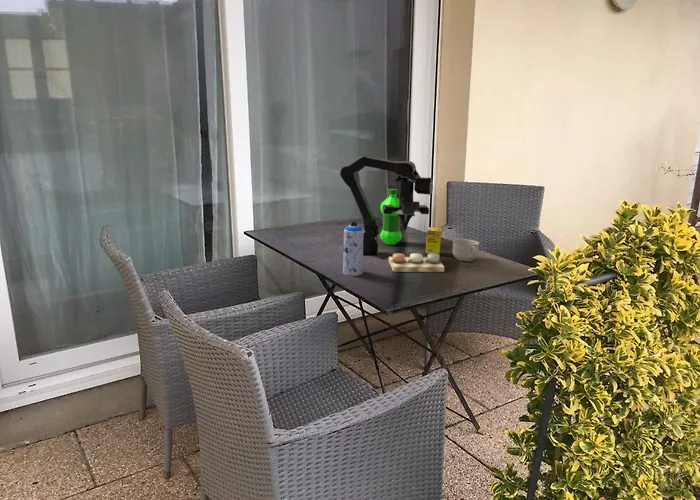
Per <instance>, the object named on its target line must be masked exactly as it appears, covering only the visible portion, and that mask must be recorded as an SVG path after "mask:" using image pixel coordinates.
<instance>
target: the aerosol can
mask: <svg viewBox="0 0 700 500" xmlns="http://www.w3.org/2000/svg"><path fill="white" fill-rule="evenodd" d="M364 232H365V230H364V228H363V227H361V226H360V225H359V224H358V222H357V221H355V220H351V222H350V224H349V225H347V226H346V227H345V228H344V230H343V256H342V257H343V258H342V259H343V261H342V274H343V275H346V276H352V277H353V276H356V277H357V276H360V275H363V273H364V271H363V267H364V265H363V262H364V255H363V238H364Z"/></svg>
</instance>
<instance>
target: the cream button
mask: <svg viewBox="0 0 700 500" xmlns="http://www.w3.org/2000/svg"><path fill="white" fill-rule="evenodd" d="M409 257H410V261H411V262H422V257H423V254H421V253H418V252H417V253H416V252H414V253H410V255H409Z"/></svg>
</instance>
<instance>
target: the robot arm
mask: <svg viewBox="0 0 700 500" xmlns="http://www.w3.org/2000/svg"><path fill="white" fill-rule="evenodd" d="M365 167H367V168H368V167H370V168H374V169H379V170H384V171H388V172H392V173H394V174H396V175H398V177H397V178H396V179H394V181H395V182H399V190H398V194H399V197H398V199H399V207H393V206H392V205H383V207H382V211H383V213H384V214H392V213H393V212H396V214H397V216H399V217H400V219H401V220H400V224H401V226H402V229H403V231H406V230H407V227H408V225H409V223H410V222H411V221H410V220H411V219H412V217H415V216H416V213H417V212H418V213H420V214H421V215H430V208H429V206H427V205H426V204H420V201H414V192H416V194H418V195H432V193H433V188H434V185H433V181H432V180H433V177H421V176H420V174H419V172H418V171H417V166H416V164H415V162H414V161H410V160H407V161H406V160H405V161H402V160H401V161H399V160H398V161H397V160H396V161H394V160H388V159H382V158H378V157H373V156H368V155H362V156H360V157H359V158H358V159H357V160H355V161H354V162H353V163H351V164H349V165H346V166H344V167H341V169H340V171H339V176H340V178H341V179H342V181H343V182H344V184H345V185H346V186H348V188H349V189H350V191H351V194H352V196H353V199H354V200H355V203H356V206H357V207H358V210H359V212H360V214H361V217H362V221H363V230H364V238H363V256H377V255H378V250H379V249H378V247H379V246H378V245H379V243H378V240H377V238H378V237H379V236H380V233H381V232H382V229H383V222H381V217H380V216H377V217H376V216H375V215H374V214H373V212H372V209H371V206H370V204H369V201H368V200H367V197H366V195H365V193H364V190H363V188H362V185H361V183H360V174H359V173H360V171H362V170H363V169H364V168H365ZM401 209H402V210H401ZM415 212H416V213H415ZM383 213H382V214H383Z"/></svg>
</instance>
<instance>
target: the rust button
mask: <svg viewBox="0 0 700 500" xmlns="http://www.w3.org/2000/svg"><path fill="white" fill-rule="evenodd" d="M392 257H393V261H394V262H404V261H405V257H406V255H405V253H399V252H396V253H395V252H394V253H393V254H392Z"/></svg>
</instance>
